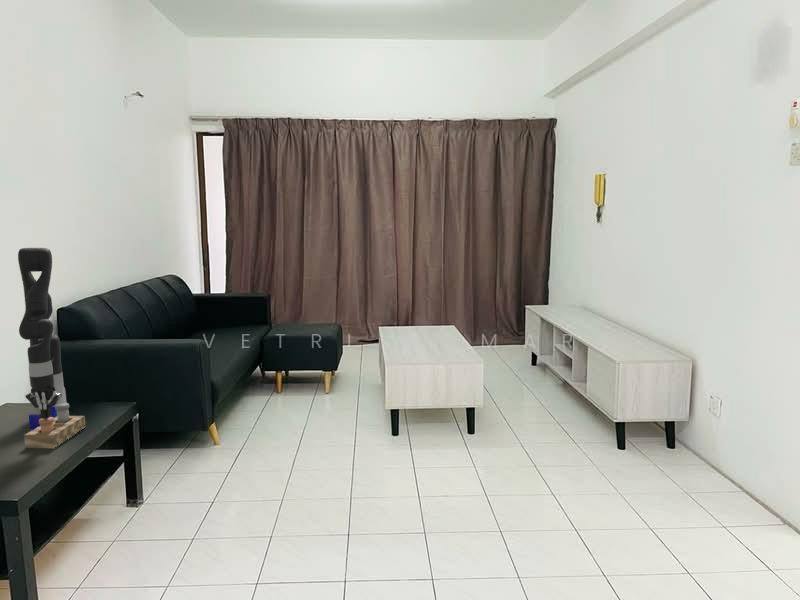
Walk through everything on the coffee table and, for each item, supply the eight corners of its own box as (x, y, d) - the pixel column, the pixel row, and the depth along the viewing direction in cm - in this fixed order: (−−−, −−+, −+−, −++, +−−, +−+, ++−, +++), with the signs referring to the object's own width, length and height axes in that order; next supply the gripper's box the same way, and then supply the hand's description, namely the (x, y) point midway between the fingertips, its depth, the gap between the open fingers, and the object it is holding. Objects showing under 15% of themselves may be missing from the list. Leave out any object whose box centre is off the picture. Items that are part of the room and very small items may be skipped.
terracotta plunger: (46, 436, 225) (44, 416, 224) (58, 436, 225) (56, 416, 223) (37, 441, 220) (35, 421, 219) (50, 441, 220) (48, 421, 219)
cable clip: (49, 418, 248) (48, 405, 247) (59, 419, 247) (57, 405, 246) (26, 429, 236) (25, 415, 235) (36, 430, 236) (35, 415, 235)
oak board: (58, 427, 238) (57, 415, 237) (85, 428, 237) (84, 416, 236) (25, 448, 218) (24, 435, 217) (54, 448, 217) (53, 435, 217)
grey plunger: (61, 421, 234) (59, 403, 233) (73, 421, 234) (71, 403, 233) (54, 426, 230) (52, 407, 228) (66, 426, 229) (64, 407, 228)
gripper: (64, 370, 222) (69, 414, 224) (30, 370, 222) (35, 414, 225) (52, 376, 214) (57, 422, 217) (16, 375, 215) (22, 421, 218)
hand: (46, 418), depth 221 cm, fingers closed
